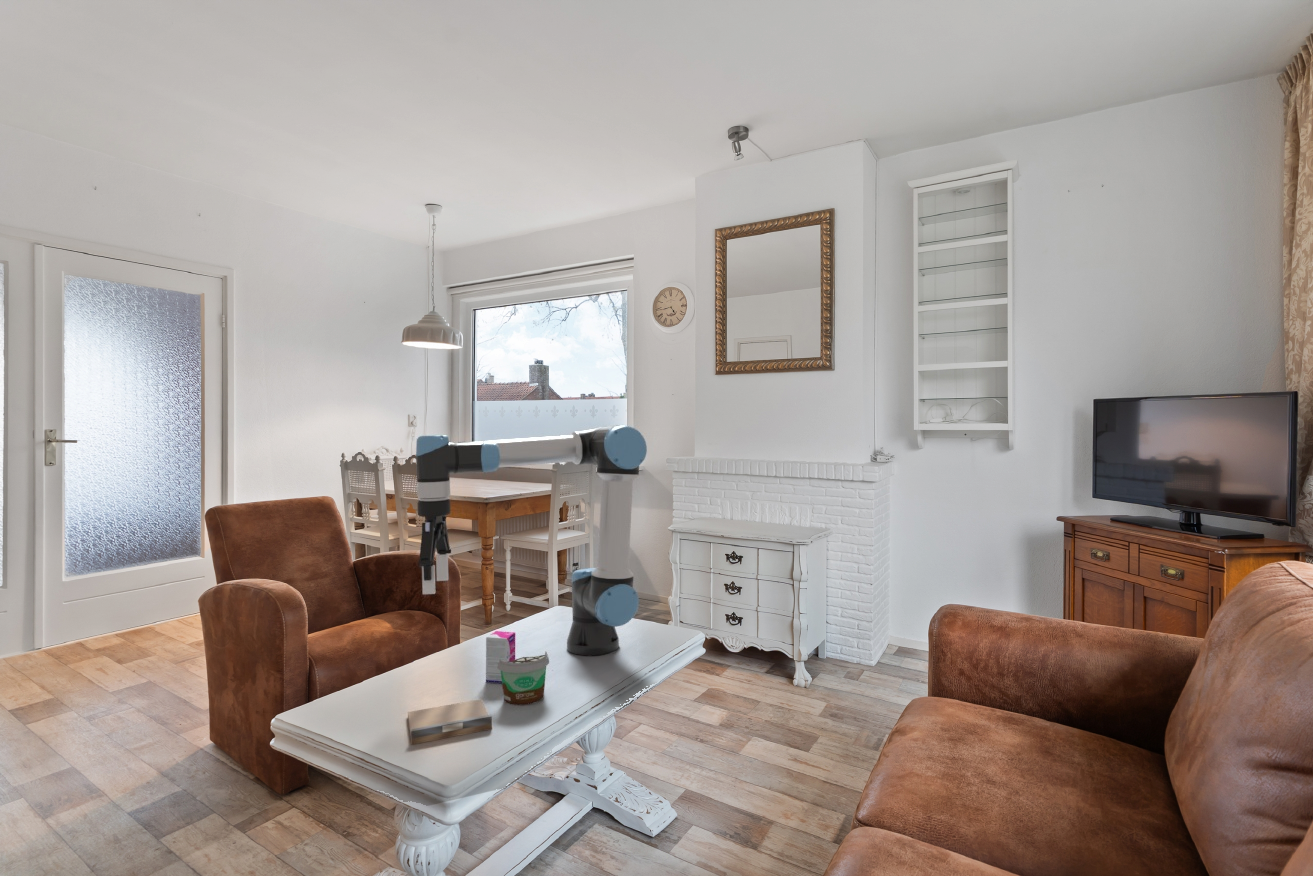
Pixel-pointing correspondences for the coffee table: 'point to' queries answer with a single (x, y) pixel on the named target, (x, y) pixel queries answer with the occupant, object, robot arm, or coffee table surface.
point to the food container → (523, 679)
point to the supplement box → (498, 653)
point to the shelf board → (448, 721)
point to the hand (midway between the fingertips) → (436, 587)
